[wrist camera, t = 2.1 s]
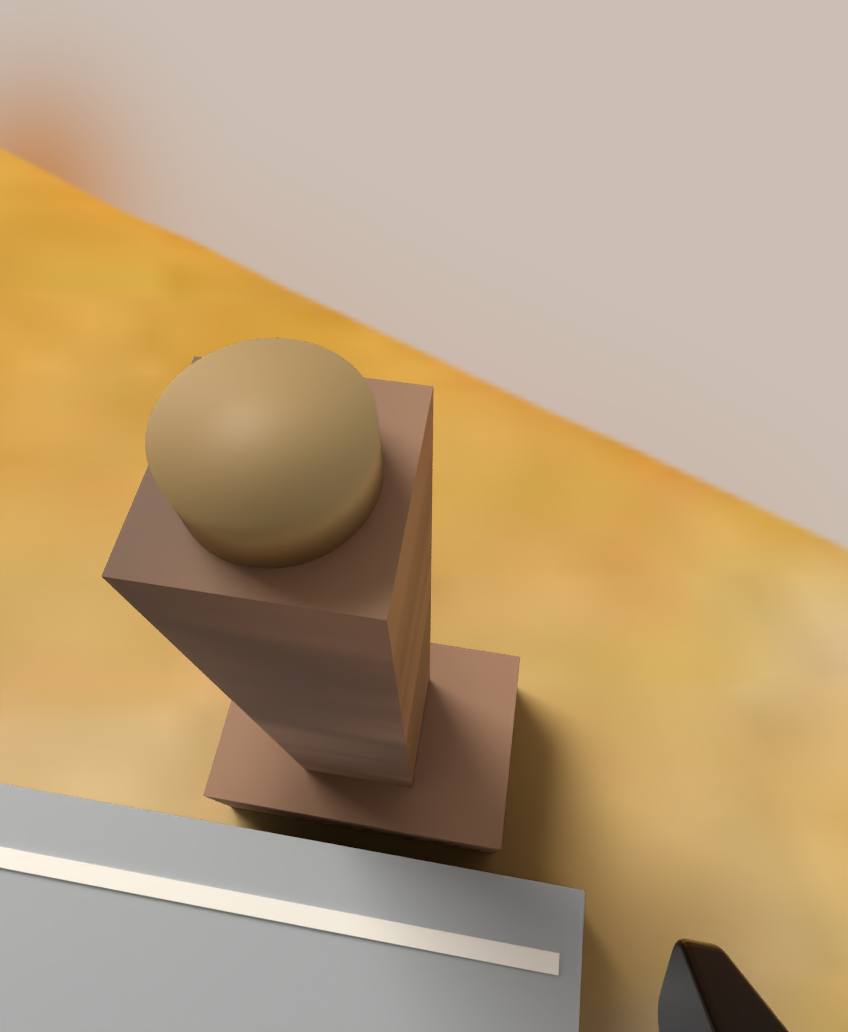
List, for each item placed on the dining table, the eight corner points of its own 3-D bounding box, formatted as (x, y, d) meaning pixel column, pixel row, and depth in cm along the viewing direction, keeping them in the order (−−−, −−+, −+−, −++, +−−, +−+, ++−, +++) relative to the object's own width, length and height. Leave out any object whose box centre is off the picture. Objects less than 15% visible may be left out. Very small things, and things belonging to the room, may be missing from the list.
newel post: (509, 682, 20) (670, 286, 7) (491, 853, 18) (677, 762, 5) (275, 644, 20) (1, 212, 7) (230, 806, 18) (-271, 606, 5)
